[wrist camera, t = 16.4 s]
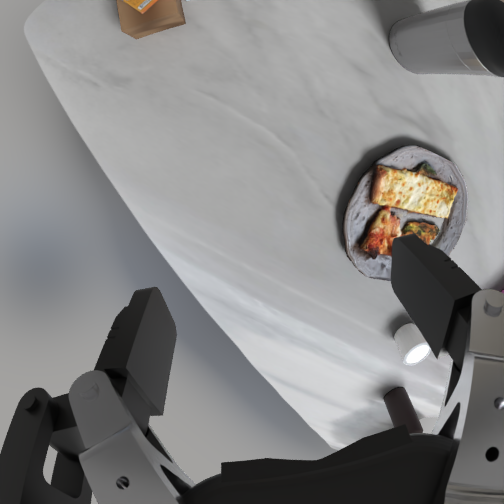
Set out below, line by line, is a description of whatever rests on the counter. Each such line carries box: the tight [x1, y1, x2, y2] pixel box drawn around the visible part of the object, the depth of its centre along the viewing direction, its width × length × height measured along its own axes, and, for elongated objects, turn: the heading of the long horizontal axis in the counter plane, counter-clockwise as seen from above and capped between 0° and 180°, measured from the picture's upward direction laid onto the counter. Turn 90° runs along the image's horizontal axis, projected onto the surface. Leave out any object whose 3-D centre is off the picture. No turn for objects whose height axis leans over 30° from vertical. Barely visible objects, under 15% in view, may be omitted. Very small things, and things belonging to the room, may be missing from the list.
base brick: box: [117, 0, 186, 39], centre depth 26 cm, size 7×7×6 cm
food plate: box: [343, 145, 468, 281], centre depth 44 cm, size 25×23×4 cm
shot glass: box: [394, 323, 431, 366], centre depth 55 cm, size 7×7×7 cm
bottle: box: [384, 387, 423, 434], centre depth 62 cm, size 7×7×20 cm
